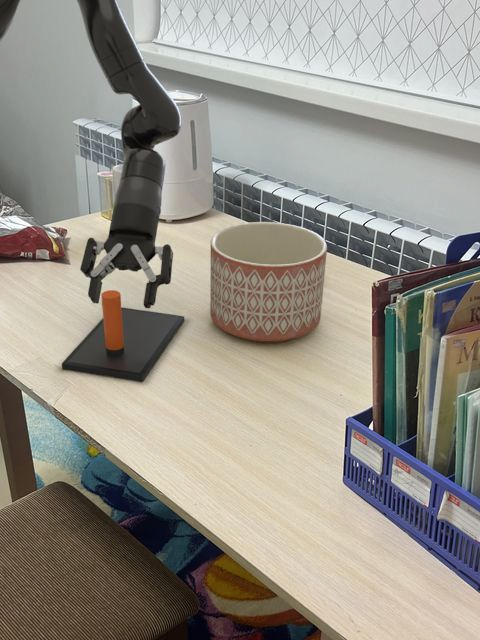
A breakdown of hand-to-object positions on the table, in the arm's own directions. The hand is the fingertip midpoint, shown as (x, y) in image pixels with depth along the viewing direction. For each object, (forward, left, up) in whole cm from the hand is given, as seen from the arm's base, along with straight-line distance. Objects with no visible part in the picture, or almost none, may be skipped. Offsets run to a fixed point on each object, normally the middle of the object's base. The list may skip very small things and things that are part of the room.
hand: (120, 304), depth 110 cm
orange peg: (+1, -5, -6) cm, 8 cm away
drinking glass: (-16, +45, -7) cm, 48 cm away
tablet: (+1, 0, -7) cm, 7 cm away
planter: (+21, +14, -7) cm, 26 cm away
